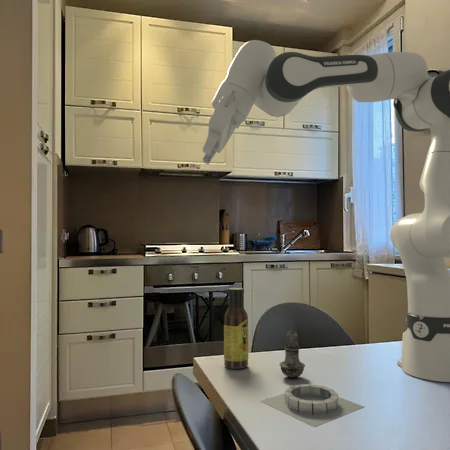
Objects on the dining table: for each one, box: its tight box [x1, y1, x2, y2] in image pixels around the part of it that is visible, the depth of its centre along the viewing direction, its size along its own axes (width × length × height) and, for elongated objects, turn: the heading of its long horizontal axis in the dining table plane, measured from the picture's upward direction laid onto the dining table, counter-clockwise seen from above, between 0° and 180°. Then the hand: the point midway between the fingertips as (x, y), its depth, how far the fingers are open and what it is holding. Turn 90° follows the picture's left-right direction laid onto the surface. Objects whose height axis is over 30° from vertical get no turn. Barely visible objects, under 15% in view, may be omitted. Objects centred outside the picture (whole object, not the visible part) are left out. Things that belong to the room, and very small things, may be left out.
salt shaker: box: [279, 327, 306, 380], centre depth 94 cm, size 6×6×12 cm
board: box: [260, 392, 365, 428], centre depth 79 cm, size 14×14×1 cm
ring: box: [284, 383, 339, 415], centre depth 79 cm, size 10×10×2 cm
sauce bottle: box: [223, 287, 249, 370], centre depth 105 cm, size 6×6×20 cm
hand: (205, 157), depth 93 cm, fingers open, 8 cm apart
